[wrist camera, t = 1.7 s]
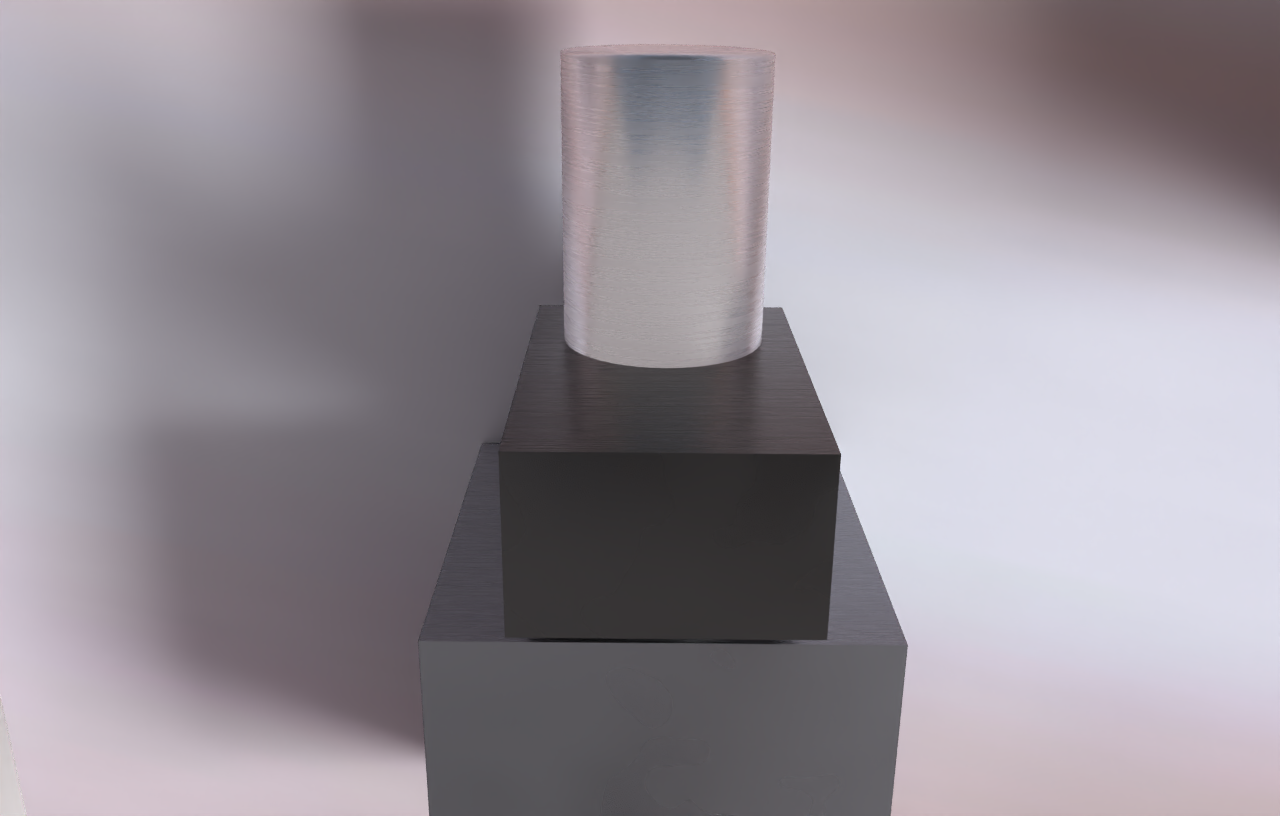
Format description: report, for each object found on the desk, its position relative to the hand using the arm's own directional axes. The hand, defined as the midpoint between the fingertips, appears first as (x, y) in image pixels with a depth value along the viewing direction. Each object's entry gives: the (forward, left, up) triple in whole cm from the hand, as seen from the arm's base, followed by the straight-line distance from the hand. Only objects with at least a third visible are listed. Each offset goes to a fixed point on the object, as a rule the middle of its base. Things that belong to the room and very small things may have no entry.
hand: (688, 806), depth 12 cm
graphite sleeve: (-7, 0, -16) cm, 18 cm away
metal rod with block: (-3, 0, -14) cm, 14 cm away
